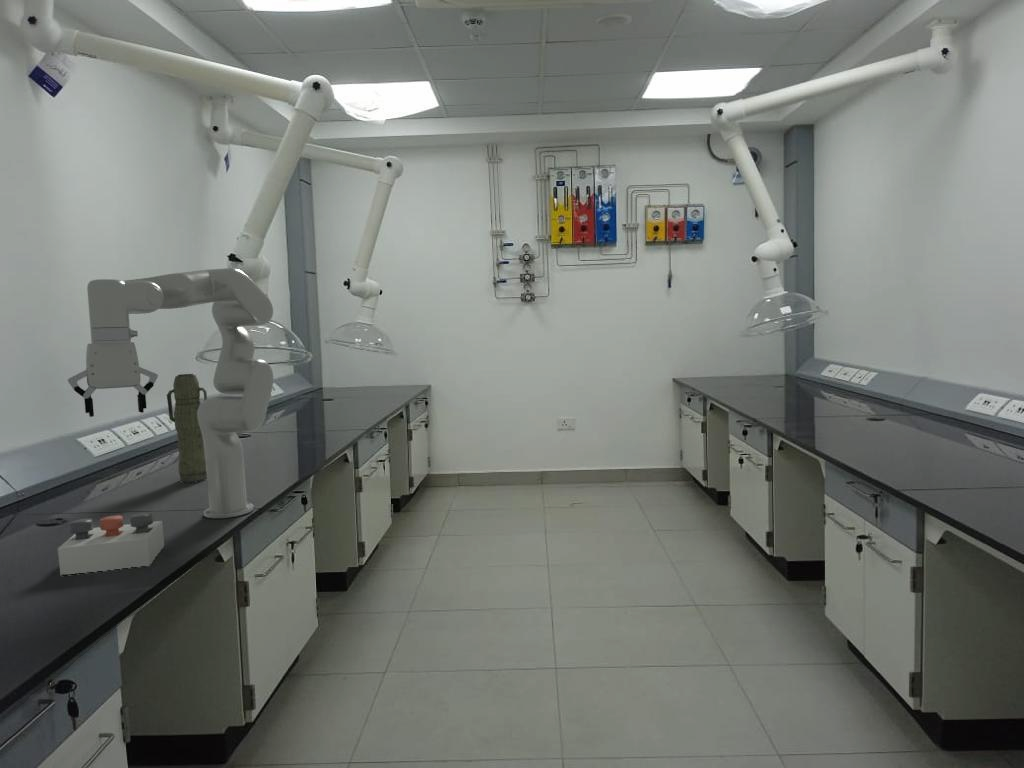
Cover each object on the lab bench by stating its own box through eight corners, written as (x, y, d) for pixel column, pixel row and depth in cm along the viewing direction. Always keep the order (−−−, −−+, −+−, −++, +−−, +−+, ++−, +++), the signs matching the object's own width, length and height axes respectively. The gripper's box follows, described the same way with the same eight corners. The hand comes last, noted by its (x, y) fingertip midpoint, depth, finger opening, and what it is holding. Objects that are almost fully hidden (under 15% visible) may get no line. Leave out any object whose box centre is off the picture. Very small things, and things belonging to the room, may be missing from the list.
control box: (83, 554, 161) (80, 529, 161) (164, 545, 166) (161, 520, 165) (60, 576, 148) (57, 548, 147) (149, 566, 152) (146, 538, 151)
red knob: (105, 540, 158) (103, 516, 157) (127, 538, 159) (124, 514, 158) (99, 546, 154) (96, 522, 153) (121, 544, 155) (119, 520, 154)
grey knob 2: (135, 537, 159) (132, 513, 159) (156, 535, 160) (154, 511, 160) (129, 543, 155) (127, 519, 155) (151, 541, 156) (149, 516, 156)
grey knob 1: (75, 544, 156) (73, 519, 156) (97, 541, 157) (95, 517, 157) (68, 550, 152) (65, 525, 152) (91, 547, 153) (88, 523, 153)
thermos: (175, 479, 237) (166, 374, 233) (214, 474, 241) (205, 372, 237) (173, 484, 228) (163, 376, 225) (213, 480, 232) (204, 374, 229)
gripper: (152, 335, 163) (157, 409, 164) (63, 338, 153) (70, 416, 155) (157, 335, 157) (162, 411, 158) (65, 337, 147) (71, 419, 148)
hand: (116, 414), depth 156 cm, fingers open, 9 cm apart
